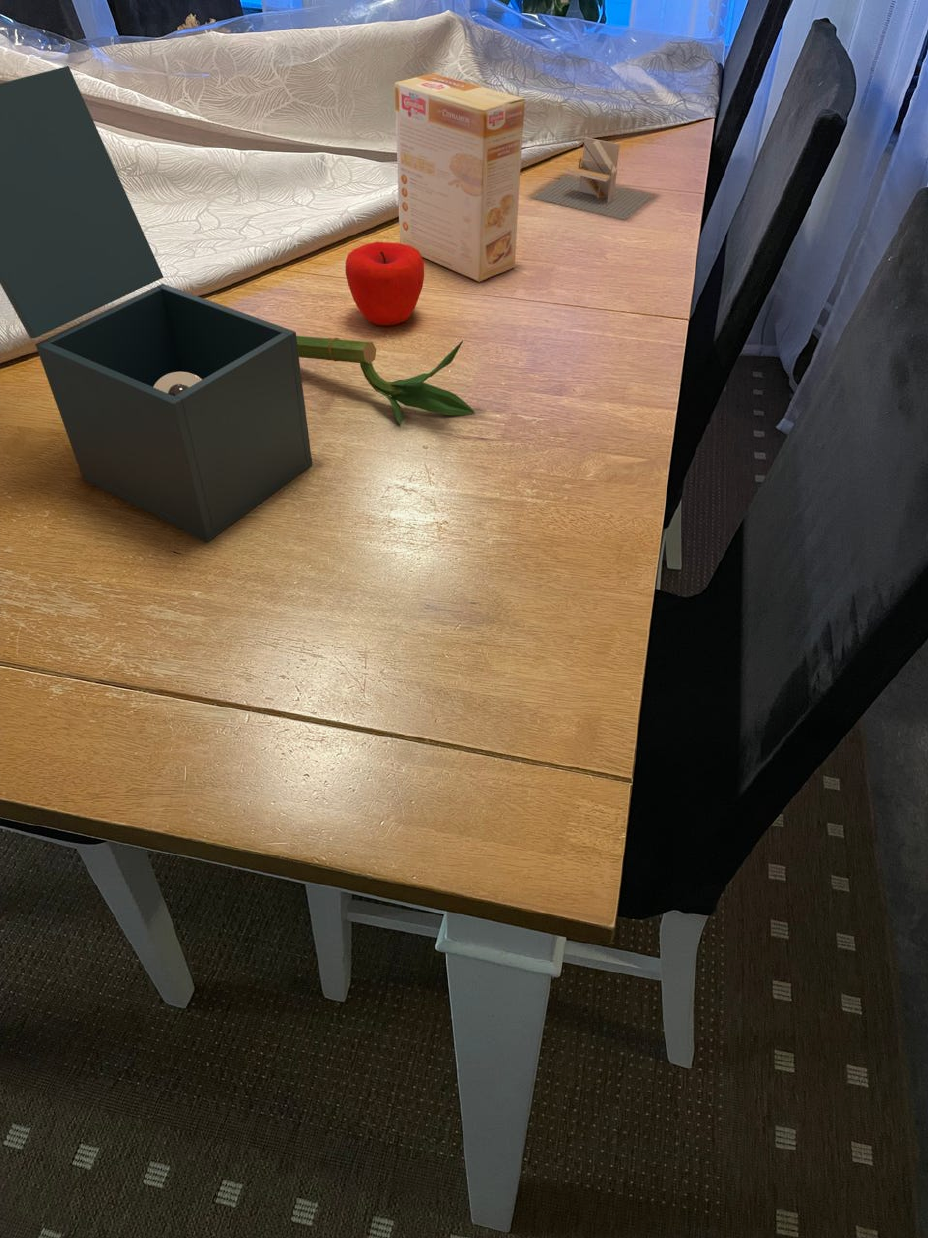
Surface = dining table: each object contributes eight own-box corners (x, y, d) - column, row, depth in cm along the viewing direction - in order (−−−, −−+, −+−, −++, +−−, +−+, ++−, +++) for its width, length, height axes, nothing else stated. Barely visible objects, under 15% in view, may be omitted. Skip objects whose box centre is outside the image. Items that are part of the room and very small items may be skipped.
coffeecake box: (516, 267, 113) (527, 97, 99) (478, 283, 110) (484, 109, 96) (435, 233, 120) (435, 70, 107) (397, 247, 117) (392, 80, 103)
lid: (68, 65, 69) (63, 67, 69) (-92, 106, 61) (-97, 109, 61) (164, 277, 78) (158, 278, 78) (35, 337, 70) (30, 338, 70)
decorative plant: (251, 313, 98) (483, 330, 84) (265, 387, 102) (488, 414, 88) (212, 327, 93) (449, 346, 79) (228, 403, 98) (456, 434, 84)
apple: (401, 293, 107) (399, 228, 102) (439, 323, 102) (439, 256, 96) (336, 311, 104) (330, 244, 98) (371, 342, 98) (367, 273, 93)
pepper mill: (169, 479, 78) (147, 417, 66) (169, 431, 79) (148, 362, 68) (222, 479, 79) (210, 418, 67) (222, 432, 80) (210, 364, 68)
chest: (312, 464, 82) (296, 331, 72) (207, 542, 74) (173, 403, 64) (192, 412, 88) (162, 282, 78) (82, 479, 80) (34, 343, 70)
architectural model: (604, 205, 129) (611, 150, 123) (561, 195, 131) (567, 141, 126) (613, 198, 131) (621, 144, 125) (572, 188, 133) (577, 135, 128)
